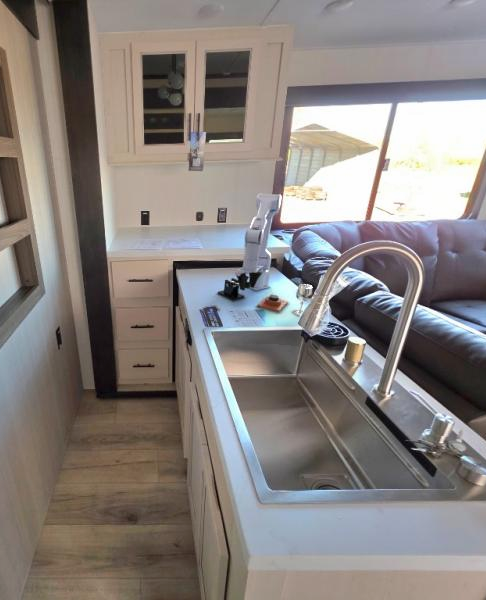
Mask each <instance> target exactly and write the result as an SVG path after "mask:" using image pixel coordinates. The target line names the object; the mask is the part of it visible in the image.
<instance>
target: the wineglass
mask: <svg viewBox="0 0 486 600" xmlns="http://www.w3.org/2000/svg"><path fill="white" fill-rule="evenodd" d="M312 296H313V286H312V285H310V284H305V283H301V284H299V285H298V287H297V289H296V291H295V298H296V299H297V300H298V301H300V306H299V310H295V311H293V313H294V315H297V316H300V315H301V313H302V312H303V311H302V309H303V308H302V307H303V305H304V302H308V301H310V300H311V299H312Z"/></svg>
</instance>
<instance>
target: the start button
mask: <svg viewBox="0 0 486 600" xmlns="http://www.w3.org/2000/svg"><path fill="white" fill-rule="evenodd" d="M269 296H270V297H269V300H271V301H278V298H280V297H279V295H277V294H270V295H269Z"/></svg>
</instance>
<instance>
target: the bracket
mask: <svg viewBox="0 0 486 600" xmlns="http://www.w3.org/2000/svg"><path fill="white" fill-rule="evenodd" d="M231 281H236V283H239V281H238V278H234V277H232V278H231V279H230V280H229V279H224V284H223V285H224V287H223V290H219V291H217V295H219V296H221V297H224V298H226V299H228V300H230V301H232V302H234V301H235V302H236V301H239V300H242V299H244V298H245V295H243V294H241V293H240V292H239V291H240V286H235V287H233V283H234V282H231Z"/></svg>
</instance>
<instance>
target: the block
mask: <svg viewBox="0 0 486 600" xmlns="http://www.w3.org/2000/svg"><path fill="white" fill-rule="evenodd" d="M269 297H270V295H268V296H267V295H266V297H265V298H263V299H262V300H261V301H260V302H259V303H258V304H257V308H260V309H263V310H267V311H271V312H275V313H280V312H281V311H282V310H283V309H284V308H285V307H286V306H287V305H288V303H289V300H285V299H282V298H280V297H279V298H278V301H271V300H269Z"/></svg>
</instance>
